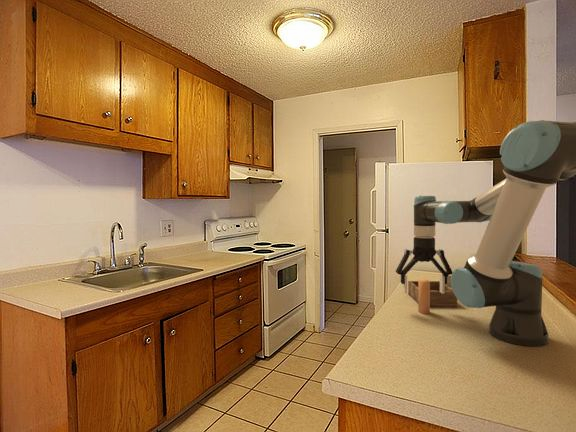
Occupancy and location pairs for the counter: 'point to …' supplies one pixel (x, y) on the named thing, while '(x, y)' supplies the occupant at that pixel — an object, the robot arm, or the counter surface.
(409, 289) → the crate
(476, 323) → the counter surface
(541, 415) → the counter surface
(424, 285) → the peg
